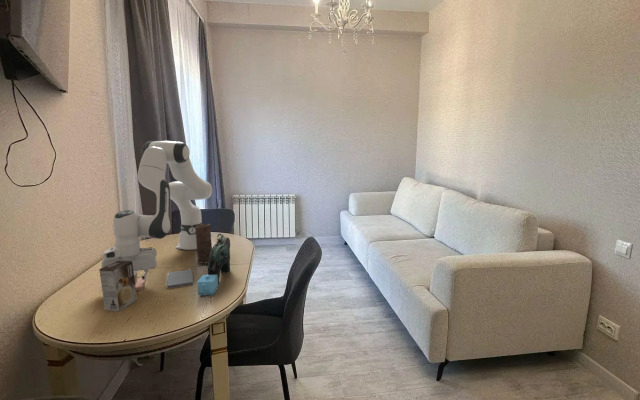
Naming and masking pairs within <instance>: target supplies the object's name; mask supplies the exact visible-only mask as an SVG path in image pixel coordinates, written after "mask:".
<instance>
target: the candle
mask: <svg viewBox="0 0 640 400" xmlns="http://www.w3.org/2000/svg"><path fill="white" fill-rule="evenodd" d="M195 231H196V244H197V249H196V254H197V255H196V256H197V263H198V264H208V259H209V255H210V252H211V250H212V248H213V244H212V232H211V224H210V223H203V224H200V225H198V226H196V227H195Z"/></svg>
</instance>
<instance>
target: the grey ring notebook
mask: <svg viewBox="0 0 640 400" xmlns="http://www.w3.org/2000/svg"><path fill="white" fill-rule="evenodd" d="M193 278H194V276H193V269H192V268H191V269H184V270H177V271H170V272H168V273H166V278H165V279H166V280H165V288H167V289H168V290H169V289H174V288H181V287H187V286H192V285H194V281H193V280H194V279H193Z"/></svg>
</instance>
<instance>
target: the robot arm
mask: <svg viewBox="0 0 640 400" xmlns="http://www.w3.org/2000/svg"><path fill="white" fill-rule="evenodd" d="M189 148H190V147H188V145H187V144H186V143H184V142H182V141H172V140H156V141H155V140H150V141H147V142H146V141H145V143H144V144H143V145H142V148H141V154H142V156H141V159H140V162H139V167H138V171H137V181H138V182H139V184H140V185H141V186H142V187H144V188H145V189H147V190H150V191H152V192H153V193H154V194H155V196H156V213H155V214H154V215H150V214H149V215H147V214H140V213H139V214H138V213H136V212H135V211H134V210H133V209H132V210H131V209H130V210H129V209H126V210H121V211H118V212H117V213H115V214H114V217H113V220H112V221H113V223H112V225H113V226H112V227H113V228H112V229H113V235H114V237H115V243H114V245H115V246H113V247H110V248H107V249H106V250H104V252H103V254H102V258H103V259H102V261H101V265H100V266H101V268H103V267H105V266H107V265H110V264H112V263H114V262H116V261H132V264H133V271H138V272H139V271H144V274H141V278H142V280H145V279H146V280H147V274H148V272H149V270H152V269H153V270H154V269H156V268H157V266H158V261H157V250H156V248H154V247H152V246H151V247H150V246H149V247H141V242H140V238H152V239H159V240H161V239H163V238H165V237H167V235H169V234H170V232H171V229H172V222H171V200H172V201H173V203H175V205H176V206H177V208H178V209H179V213H180V220H181V221H180V222H181V224H180V230H181V231H180V232H179V233H178V243H177V245H176V246H175V249H181V250H185V251H187V250H190V251H191V250H197V244H196V231H195V227H196V226H198V225H200V224H204V223H203V220H202V211H201V209H200V207H198V206H197V205H194V204H193V202H192V201H198V200H206V199H209V198H210V197H211V196H212V194H213V188H212V184H211V183H210V182H208V181H207V180H204V179H203V178H201V177H200V176H199V175H198V174H197V173H196V172H195V170H194V168H193V164H192V162H191V159H190V149H189ZM167 164H168V166H169V170H170V172H171V175H172V178H174V179H175V180H176V181H171V182H168V181H167V180H166V171H167ZM101 268H100V269H101Z"/></svg>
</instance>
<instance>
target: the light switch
mask: <svg viewBox="0 0 640 400" xmlns="http://www.w3.org/2000/svg"><path fill="white" fill-rule="evenodd" d="M134 280H135V288H136V291H141V290H144V288H145V284H146V280H147V278H146V279H145V280H142V277H141V278H140V277H139V278H137V275H136V272H134Z"/></svg>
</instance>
